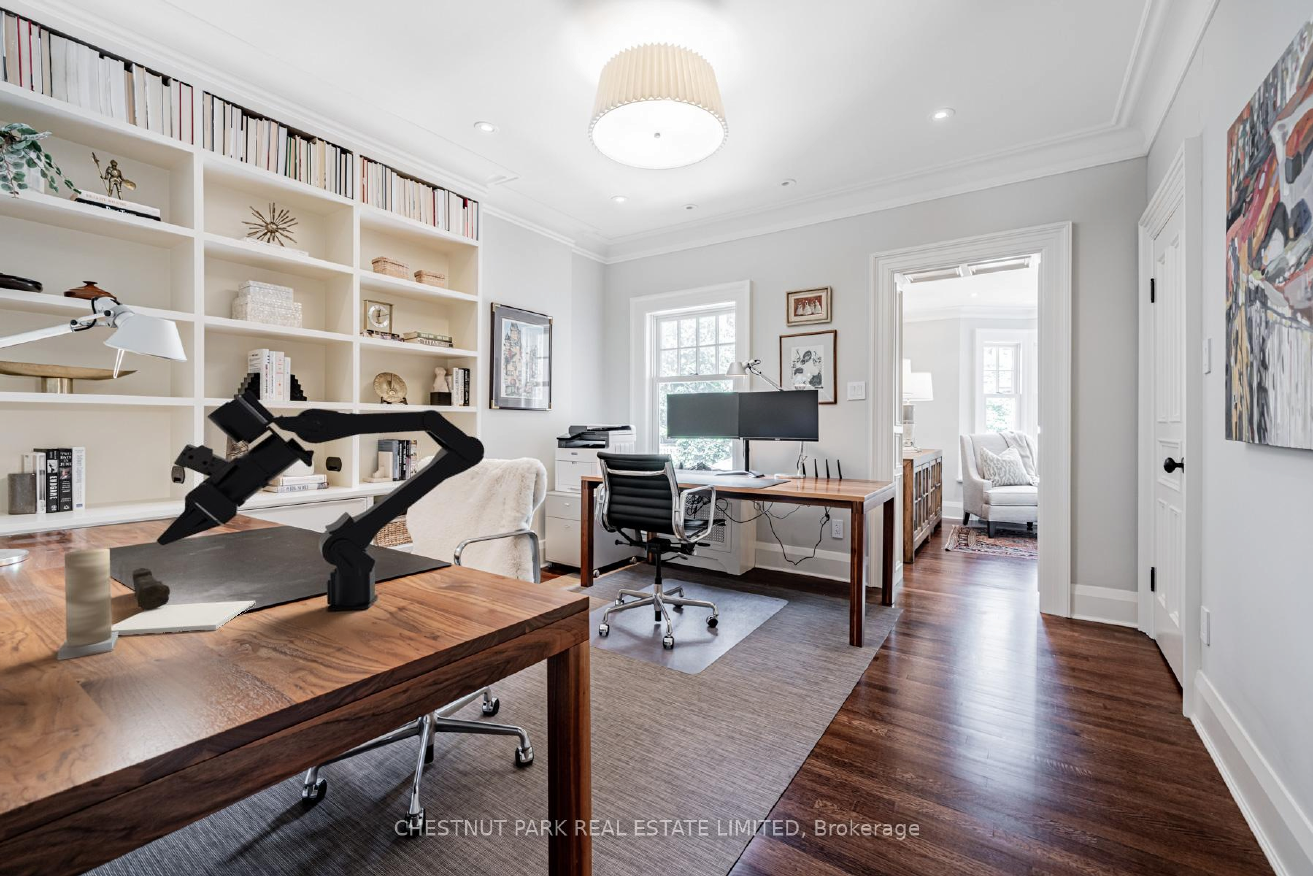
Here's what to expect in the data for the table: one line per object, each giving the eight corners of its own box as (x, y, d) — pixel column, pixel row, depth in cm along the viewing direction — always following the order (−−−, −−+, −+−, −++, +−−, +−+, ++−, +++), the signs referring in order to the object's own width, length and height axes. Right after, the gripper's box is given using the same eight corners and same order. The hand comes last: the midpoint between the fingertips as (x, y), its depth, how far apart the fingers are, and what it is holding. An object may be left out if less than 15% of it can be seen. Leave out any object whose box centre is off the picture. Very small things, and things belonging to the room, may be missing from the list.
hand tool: (171, 605, 94) (168, 578, 94) (139, 612, 91) (136, 584, 91) (161, 587, 108) (158, 563, 108) (132, 593, 105) (130, 568, 105)
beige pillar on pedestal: (118, 639, 82) (116, 546, 82) (111, 650, 78) (109, 552, 78) (67, 647, 79) (65, 550, 79) (57, 660, 75) (55, 558, 75)
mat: (255, 605, 98) (255, 600, 98) (215, 629, 86) (215, 624, 86) (155, 610, 95) (155, 605, 95) (100, 636, 83) (100, 631, 83)
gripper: (222, 427, 95) (128, 492, 88) (212, 427, 79) (98, 507, 73) (275, 475, 99) (189, 541, 93) (276, 484, 84) (173, 564, 77)
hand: (164, 537), depth 84 cm, fingers open, 9 cm apart
